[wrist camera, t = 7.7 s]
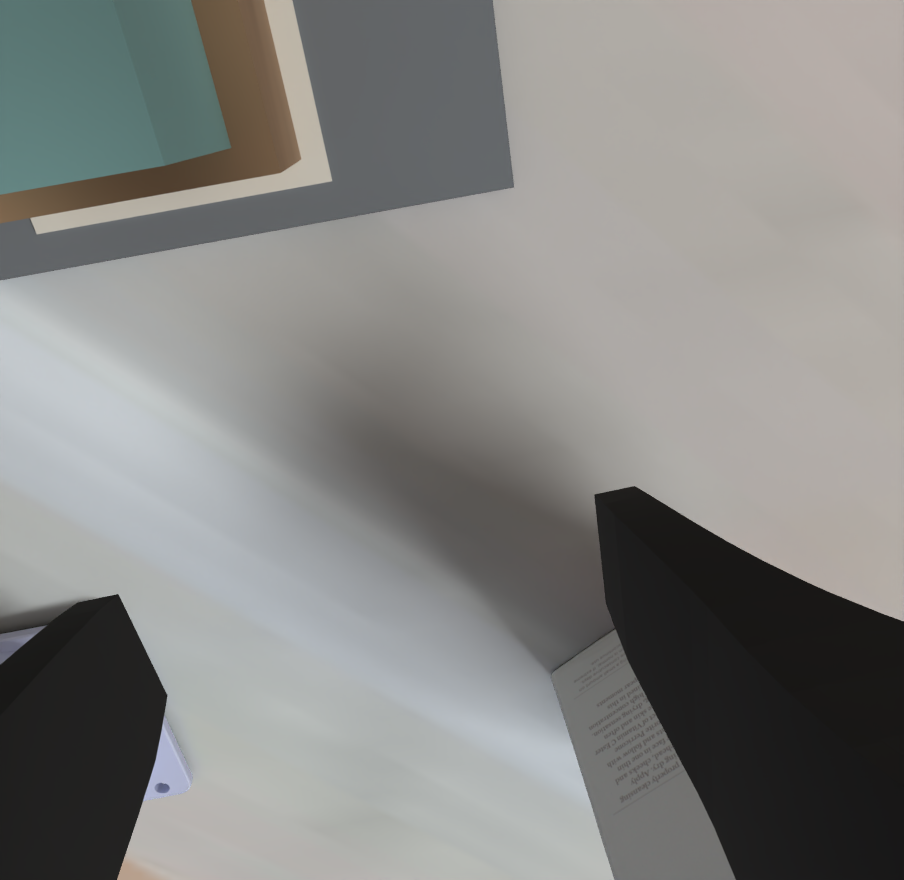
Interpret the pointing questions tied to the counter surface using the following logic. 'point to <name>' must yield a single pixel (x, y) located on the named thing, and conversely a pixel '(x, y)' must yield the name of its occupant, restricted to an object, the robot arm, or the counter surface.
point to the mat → (325, 135)
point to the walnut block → (243, 109)
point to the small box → (634, 773)
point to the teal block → (102, 90)
